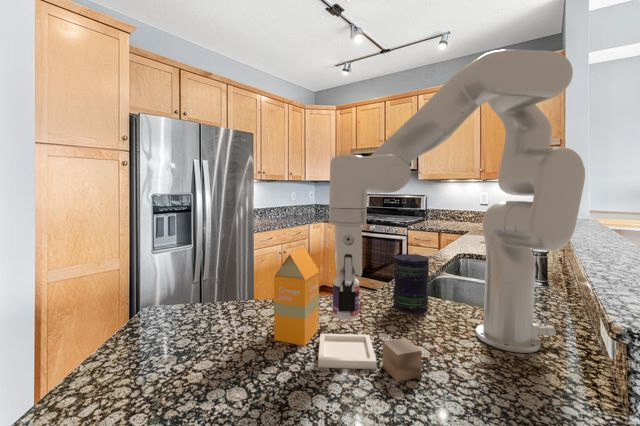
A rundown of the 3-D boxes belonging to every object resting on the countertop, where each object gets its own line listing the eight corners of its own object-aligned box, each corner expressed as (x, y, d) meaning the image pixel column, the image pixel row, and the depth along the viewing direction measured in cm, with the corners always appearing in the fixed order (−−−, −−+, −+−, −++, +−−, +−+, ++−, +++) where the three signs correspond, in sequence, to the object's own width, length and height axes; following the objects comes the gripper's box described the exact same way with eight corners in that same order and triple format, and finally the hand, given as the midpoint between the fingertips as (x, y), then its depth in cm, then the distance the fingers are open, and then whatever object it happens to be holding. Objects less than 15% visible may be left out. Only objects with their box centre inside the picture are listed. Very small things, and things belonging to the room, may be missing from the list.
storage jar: (400, 299, 96) (401, 252, 95) (432, 306, 90) (433, 256, 89) (387, 309, 88) (388, 257, 87) (421, 317, 82) (423, 262, 81)
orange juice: (273, 340, 68) (273, 252, 67) (290, 324, 77) (290, 246, 76) (305, 346, 66) (305, 254, 65) (319, 329, 74) (320, 248, 73)
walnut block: (405, 362, 60) (405, 338, 59) (420, 377, 55) (421, 350, 55) (382, 367, 58) (383, 341, 58) (396, 382, 53) (397, 354, 53)
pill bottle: (357, 321, 59) (358, 272, 59) (330, 319, 60) (331, 270, 60) (359, 311, 64) (360, 266, 64) (334, 309, 66) (335, 264, 65)
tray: (369, 341, 68) (369, 334, 68) (376, 369, 57) (376, 361, 57) (320, 340, 69) (320, 333, 68) (318, 367, 58) (318, 359, 57)
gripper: (371, 221, 53) (369, 323, 54) (362, 215, 70) (360, 292, 71) (328, 220, 53) (326, 321, 54) (329, 214, 70) (328, 291, 71)
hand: (345, 304), depth 62 cm, fingers closed on pill bottle, 5 cm apart
